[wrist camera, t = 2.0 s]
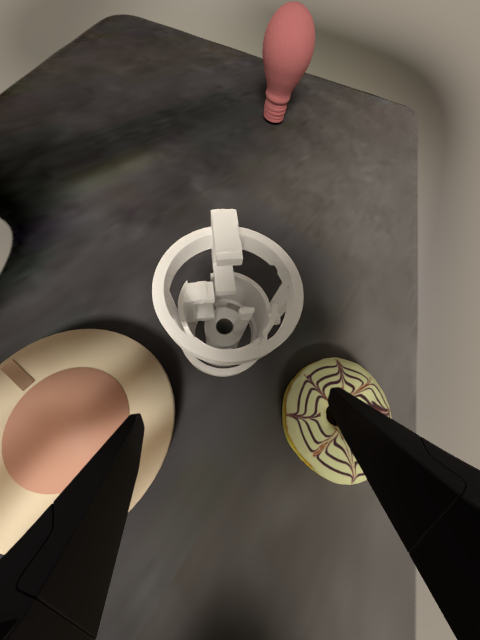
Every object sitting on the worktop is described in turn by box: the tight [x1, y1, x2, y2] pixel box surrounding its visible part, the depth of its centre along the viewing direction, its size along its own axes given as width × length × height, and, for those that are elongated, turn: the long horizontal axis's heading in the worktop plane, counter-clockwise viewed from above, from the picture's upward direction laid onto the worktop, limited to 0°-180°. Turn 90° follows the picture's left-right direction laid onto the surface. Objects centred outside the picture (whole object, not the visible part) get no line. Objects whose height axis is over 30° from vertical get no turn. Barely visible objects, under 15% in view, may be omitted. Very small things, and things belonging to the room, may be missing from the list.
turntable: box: [0, 329, 175, 555], centre depth 17 cm, size 16×16×1 cm
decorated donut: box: [282, 357, 391, 485], centre depth 20 cm, size 10×11×4 cm
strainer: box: [152, 209, 304, 377], centre depth 16 cm, size 7×7×15 cm
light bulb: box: [263, 2, 315, 123], centre depth 31 cm, size 7×7×12 cm
